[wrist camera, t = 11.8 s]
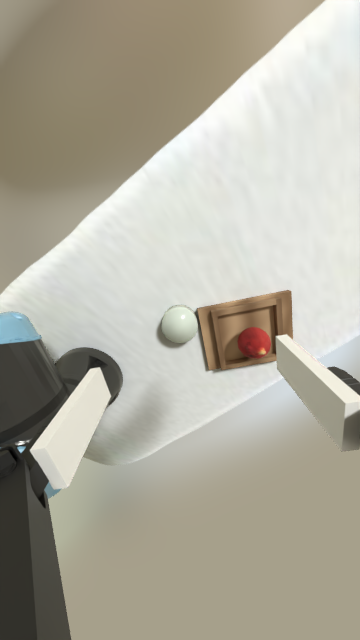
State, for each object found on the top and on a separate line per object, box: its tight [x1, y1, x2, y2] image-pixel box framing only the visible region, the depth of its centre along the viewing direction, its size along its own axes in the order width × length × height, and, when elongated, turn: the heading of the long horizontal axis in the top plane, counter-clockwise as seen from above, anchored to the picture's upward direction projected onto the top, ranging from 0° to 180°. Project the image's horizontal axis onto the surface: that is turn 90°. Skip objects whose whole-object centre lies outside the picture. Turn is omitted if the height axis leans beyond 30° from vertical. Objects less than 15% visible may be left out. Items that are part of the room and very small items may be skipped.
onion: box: [237, 327, 271, 359], centre depth 38 cm, size 6×6×8 cm
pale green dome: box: [162, 305, 198, 343], centre depth 41 cm, size 7×7×3 cm
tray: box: [197, 290, 293, 370], centre depth 42 cm, size 18×14×3 cm
